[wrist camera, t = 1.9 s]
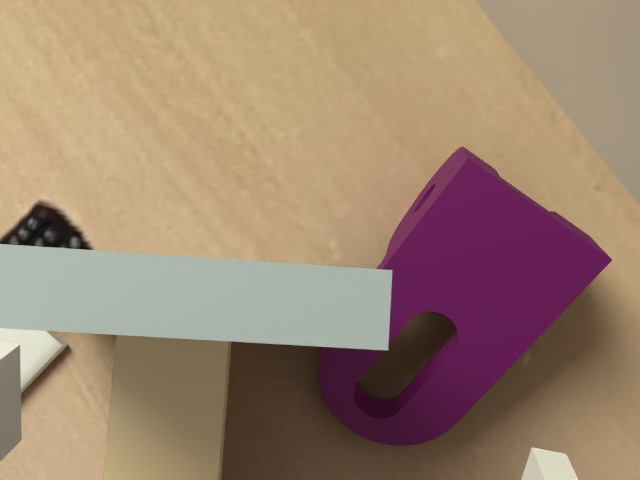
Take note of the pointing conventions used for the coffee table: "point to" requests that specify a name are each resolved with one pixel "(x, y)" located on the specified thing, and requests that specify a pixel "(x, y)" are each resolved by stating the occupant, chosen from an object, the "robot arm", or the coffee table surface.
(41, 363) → the external hard drive
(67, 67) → the coffee table surface
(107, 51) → the coffee table surface
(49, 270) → the wall board
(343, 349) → the mounting bracket
